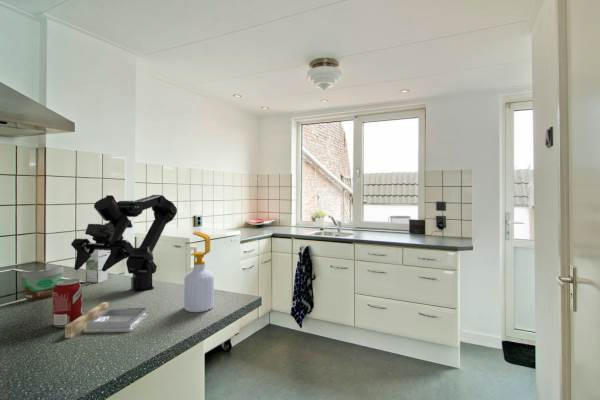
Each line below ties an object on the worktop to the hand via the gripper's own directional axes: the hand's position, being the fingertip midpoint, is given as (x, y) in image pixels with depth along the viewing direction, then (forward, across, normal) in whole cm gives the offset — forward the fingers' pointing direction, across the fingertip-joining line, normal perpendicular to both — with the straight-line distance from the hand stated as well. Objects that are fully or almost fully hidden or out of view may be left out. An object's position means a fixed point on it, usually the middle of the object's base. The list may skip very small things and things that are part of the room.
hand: (89, 270), depth 98 cm
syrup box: (-14, -25, +33) cm, 44 cm away
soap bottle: (+2, +30, +17) cm, 35 cm away
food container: (+1, -27, +18) cm, 32 cm away
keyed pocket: (+13, +14, +6) cm, 20 cm away
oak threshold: (+14, +6, +5) cm, 16 cm away
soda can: (+15, 0, +4) cm, 16 cm away
